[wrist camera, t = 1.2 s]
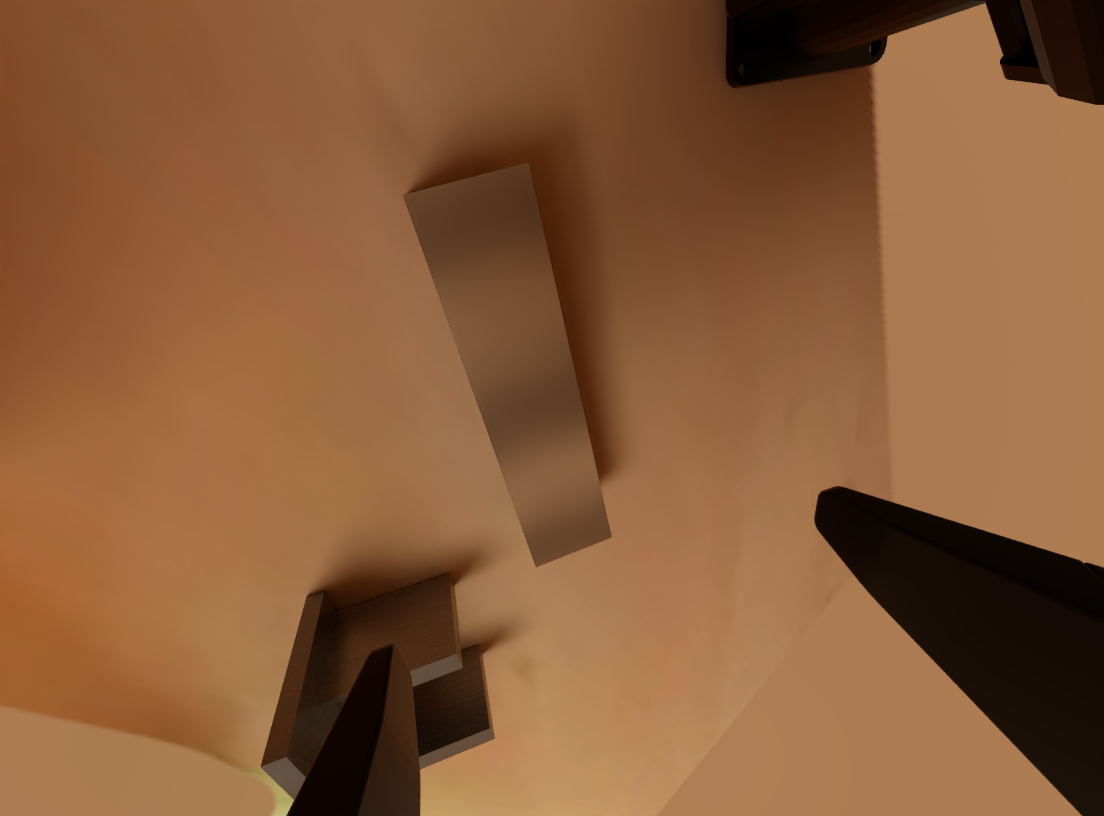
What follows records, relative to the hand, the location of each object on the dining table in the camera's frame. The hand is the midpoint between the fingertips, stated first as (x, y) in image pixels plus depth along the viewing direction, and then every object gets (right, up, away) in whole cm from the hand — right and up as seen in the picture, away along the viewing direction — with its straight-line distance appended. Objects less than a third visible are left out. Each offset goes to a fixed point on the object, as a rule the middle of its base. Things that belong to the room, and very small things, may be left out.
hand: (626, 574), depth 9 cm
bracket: (-9, -9, +14) cm, 19 cm away
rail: (-3, +5, +10) cm, 12 cm away
